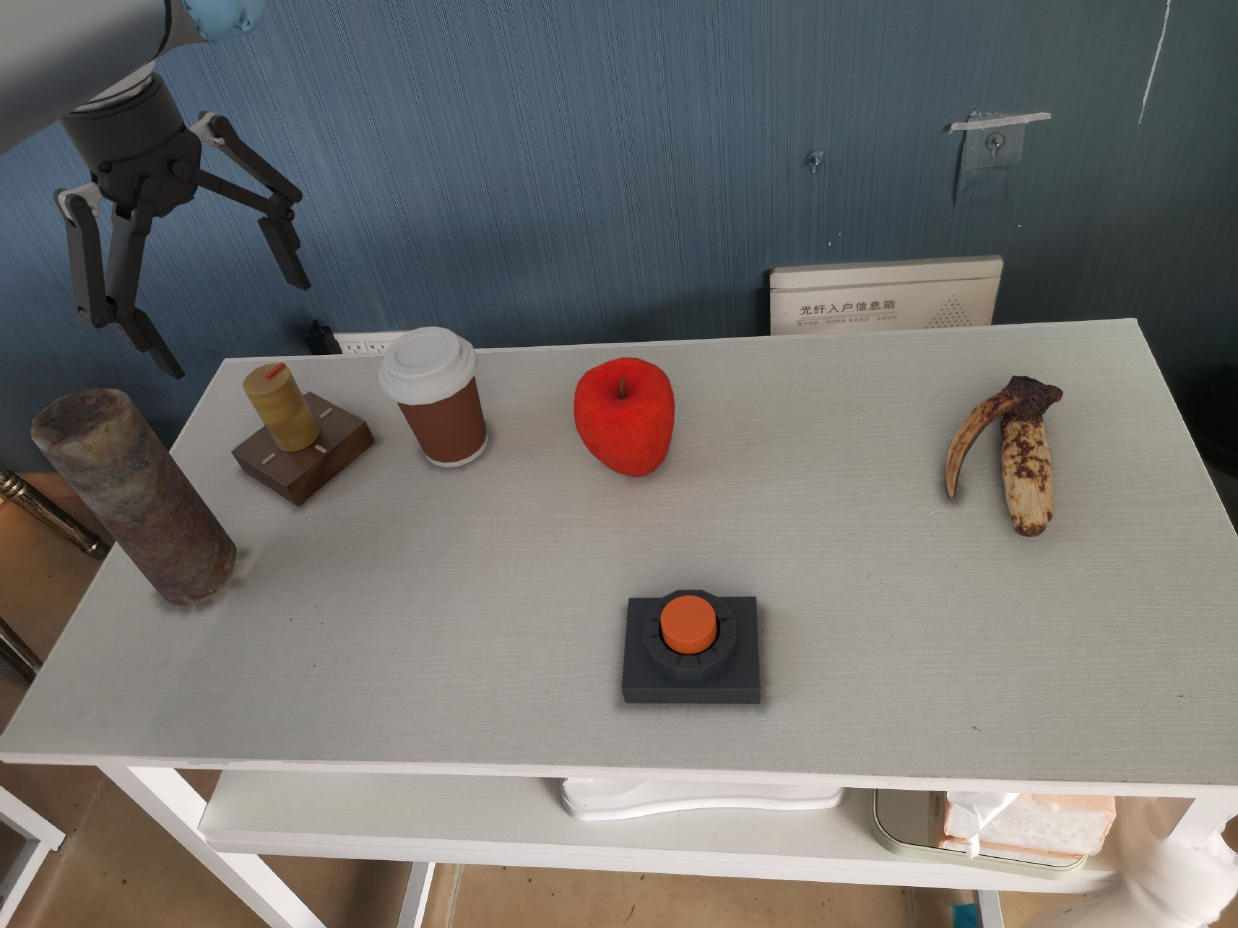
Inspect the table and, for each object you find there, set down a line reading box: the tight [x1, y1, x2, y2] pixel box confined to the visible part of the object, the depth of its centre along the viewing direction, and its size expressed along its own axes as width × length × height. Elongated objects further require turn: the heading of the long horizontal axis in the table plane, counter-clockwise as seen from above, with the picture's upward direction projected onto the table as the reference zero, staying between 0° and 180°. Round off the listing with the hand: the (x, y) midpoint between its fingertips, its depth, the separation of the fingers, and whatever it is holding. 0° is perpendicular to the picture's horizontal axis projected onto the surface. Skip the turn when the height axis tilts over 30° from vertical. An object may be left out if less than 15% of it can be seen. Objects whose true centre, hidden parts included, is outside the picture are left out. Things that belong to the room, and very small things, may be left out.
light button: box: [661, 595, 717, 654], centre depth 65 cm, size 4×4×2 cm
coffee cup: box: [377, 325, 489, 468], centre depth 83 cm, size 9×9×12 cm
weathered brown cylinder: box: [30, 387, 238, 607], centre depth 73 cm, size 8×7×20 cm
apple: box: [573, 356, 676, 478], centre depth 79 cm, size 9×9×11 cm
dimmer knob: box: [242, 361, 320, 452], centre depth 84 cm, size 4×4×8 cm
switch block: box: [621, 588, 761, 705], centre depth 67 cm, size 10×8×4 cm
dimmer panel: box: [230, 390, 376, 508], centre depth 88 cm, size 10×9×3 cm
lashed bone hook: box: [944, 374, 1064, 538], centre depth 75 cm, size 9×5×18 cm
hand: (239, 327), depth 77 cm, fingers open, 13 cm apart
